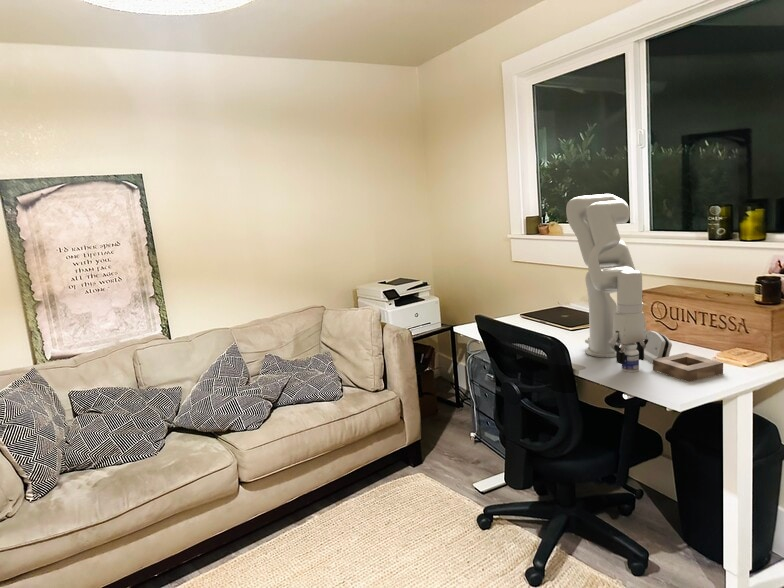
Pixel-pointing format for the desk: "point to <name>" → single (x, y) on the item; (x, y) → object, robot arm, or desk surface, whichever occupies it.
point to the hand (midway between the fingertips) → (630, 361)
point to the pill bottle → (631, 358)
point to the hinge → (657, 347)
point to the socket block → (688, 366)
